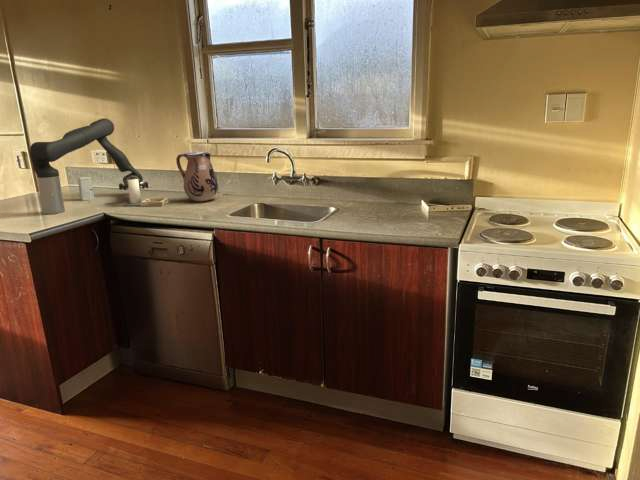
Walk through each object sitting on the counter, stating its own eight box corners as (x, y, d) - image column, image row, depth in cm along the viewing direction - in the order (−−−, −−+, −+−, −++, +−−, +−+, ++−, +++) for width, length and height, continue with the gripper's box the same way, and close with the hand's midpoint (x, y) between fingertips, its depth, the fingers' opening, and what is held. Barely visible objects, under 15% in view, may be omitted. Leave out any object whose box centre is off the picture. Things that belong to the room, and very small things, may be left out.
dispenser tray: (162, 206, 238) (161, 201, 237) (140, 206, 238) (140, 202, 238) (169, 202, 249) (168, 198, 248) (148, 202, 249) (148, 198, 248)
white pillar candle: (138, 203, 241) (135, 179, 238) (128, 203, 241) (125, 179, 238) (142, 201, 246) (139, 178, 243) (132, 202, 246) (129, 178, 243)
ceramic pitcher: (214, 203, 244) (210, 154, 237) (174, 203, 245) (169, 154, 238) (222, 197, 261) (218, 151, 254) (184, 197, 261) (179, 151, 255)
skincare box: (83, 200, 256) (79, 178, 253) (80, 199, 259) (76, 177, 256) (94, 199, 260) (91, 177, 257) (92, 198, 263) (88, 176, 260)
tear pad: (140, 206, 239) (140, 204, 239) (123, 206, 239) (123, 204, 239) (148, 202, 248) (147, 201, 248) (131, 202, 249) (130, 201, 248)
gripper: (118, 177, 252) (118, 181, 237) (146, 175, 257) (148, 179, 242) (120, 191, 254) (119, 196, 239) (148, 189, 259) (149, 193, 244)
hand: (134, 187), depth 241 cm, fingers open, 8 cm apart
